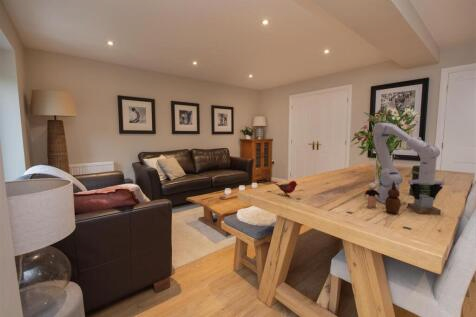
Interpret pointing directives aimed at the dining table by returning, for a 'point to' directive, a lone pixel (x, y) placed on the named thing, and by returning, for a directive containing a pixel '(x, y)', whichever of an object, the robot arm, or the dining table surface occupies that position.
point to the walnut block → (424, 209)
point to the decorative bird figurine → (287, 187)
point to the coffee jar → (425, 188)
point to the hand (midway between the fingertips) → (424, 199)
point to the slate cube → (424, 201)
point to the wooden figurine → (393, 200)
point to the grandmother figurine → (372, 195)
